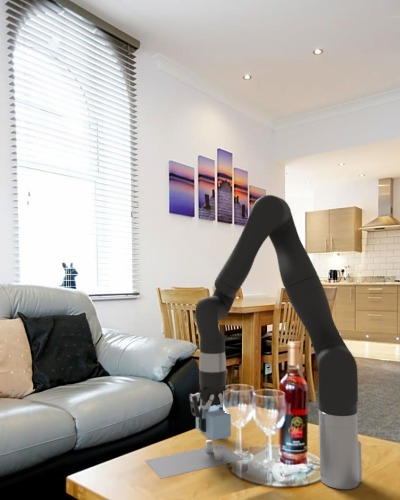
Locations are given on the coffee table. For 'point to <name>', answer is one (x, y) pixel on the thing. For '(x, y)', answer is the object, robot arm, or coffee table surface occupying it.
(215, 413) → the pale blue upright block
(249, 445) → the coffee table surface
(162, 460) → the stub board
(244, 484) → the coffee table surface
